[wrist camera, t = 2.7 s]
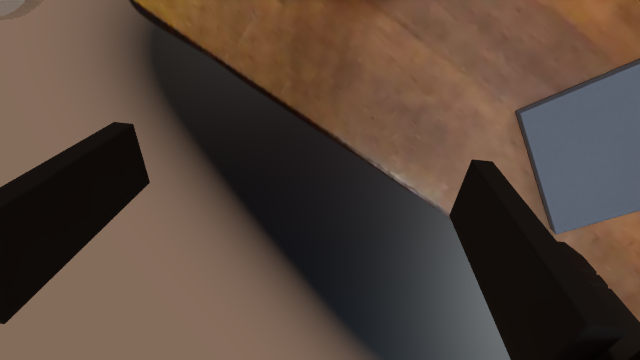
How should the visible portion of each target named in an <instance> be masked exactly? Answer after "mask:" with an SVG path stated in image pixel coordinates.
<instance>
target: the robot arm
mask: <svg viewBox="0 0 640 360" xmlns="http://www.w3.org/2000/svg"><path fill="white" fill-rule="evenodd" d="M149 182H150V181H149V178H148V174H147V171H146V168H145V164H144V160H143V157H142V153H141V150H140V147H139V143H138V139H137V136H136V132H135V129H134V125H133V124H127V123H118V122H113V123H112V124H110V125H108V126H106V127H105V128H103V129H101V130H99V131H98V132H96V133H95V134H92V135H91V136H89V137H87V138H86V139H84V140H82V141H80V142H79V143H77V144H75V145H73V146H72V147H70V148H68V149H66V150H65V151H63V152H61V153H60V154H58V155H56V156H54V157H52V158H51V159H49V160H47V161H45V162H44V163H42V164H41V165H38V166H37V167H35V168H33V169H32V170H30V171H28V172H26V173H25V174H23V175H21V176H19V177H18V178H16V179H14V180H12V181H11V182H9V183H7V184H5V185H4V186H2V187H0V323H1V324H5V323H6V322H7V321H8V320H9V319H10V318H11V317H12V316H13V315H14V314H15V313H17V312H18V310H20V309H21V308H22V307H23V306H24V305H25V304H26V303H27V302H28V301H29V300H30V299H31V298H32V297H33V296H34V295H35V294H36V293H37V292H38V291H39V290H40V289H41V288H42V287H43V286H44V285H45V284H46V283H47V282H48V281H49V280H50V279H51V278H52V277H53V276H54V275H55V274H56V273H58V272H59V271H60V270H61V269H62V268H63V267H64V266H65V265H66V264H67V263H68V262H69V261H70V260H71V259H72V258H73V257H74V256H75V255H76V254H77V253H78V252H79V251H80V250H81V249H82V248H83V247H84V246H85V245H86V244H87V243H88V242H89V241H90V240H91V239H92V238H93V237H94V236H95V235H97V233H98V232H100V231H101V230H102V229H103V228H104V227H105V226H106V225H107V224H108V223H109V222H110V221H111V220H112V219H113V218H114V217H115V216H116V215H117V214H118V213H119V212H120V211H121V210H122V209H123V208H124V207H125V206H126V205H127V204H128V203H129V202H130V201H131V200H132V199H133V198H134V197H135V196H136V195H138V194H139V192H141V191H142V190H143V189H144V188H145V187H146V186H147V185H148V184H149ZM449 216H450V218H451V221H452V223H453V225H454V228H455V230H456V232H457V234H458V237H459V239H460V242H461V244H462V247H463V249H464V251H465V254H466V256H467V258H468V261H469V263H470V265H471V268H472V270H473V272H474V274H475V277H476V279H477V281H478V284H479V286H480V289H481V291H482V293H483V295H484V298H485V300H486V302H487V305H488V307H489V310H490V312H491V314H492V316H493V319H494V321H495V324H496V326H497V328H498V331H499V333H500V335H501V338H502V340H503V342H504V345H505V347H506V349H507V352H508V354H509V356H510V359H511V360H640V322H639V321H638V320H637V319H636V317H635V316H634V315H633V314H632V313H631V312H630V311H629V309H628V308H627V307H626V306H625V305H624V304H623V302H622V301H621V300H620V299H619V298H618V297H617V295H616V294H615V293H614V292H613V291H612V290H611V289H608V285H607V284H606V283H605V281H604V280H603V279H602V278H601V277H600V276H599V275H597V274H596V271H595V270H594V269H593V267H592V266H591V265H590V264H589V263H588V262H587V260H586V259H585V258H584V257H583V256H582V255H581V254H579V253H578V252H577V251H575V250H574V249H573V248H571V247H570V246H569V245H567V244H566V243H565V242H557V241H556V240H555V239H554V238H553V236H552V235H551V234H550V233H549V231H548V230H547V229H546V228H545V226H544V225H543V224H542V223H541V221H540V220H539V219H538V218H537V216H536V215H535V214H534V213H533V211H532V210H531V209H530V208H529V206H528V205H527V204H526V203H525V202H524V200H523V199H522V198H521V197H520V195H519V194H518V193H517V192H516V190H515V189H514V188H513V187H512V185H511V184H510V183H509V182H508V180H507V179H506V178H505V177H504V175H503V174H502V173H501V172H500V170H499V169H498V168H497V167H496V165H495V164H494V163H493V162H491V161H482V160H471V163H470V165H469V168H468V170H467V173H466V175H465V178H464V180H463V183H462V185H461V188H460V190H459V193H458V195H457V198H456V200H455V203H454V205H453V208H452V210H451V213H450V215H449Z"/></svg>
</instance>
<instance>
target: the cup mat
mask: <svg viewBox="0 0 640 360" xmlns="http://www.w3.org/2000/svg"><path fill="white" fill-rule="evenodd" d="M516 115H517V118H518V122H519V125H520V128H521V131H522V135H523V138H524V141H525V145H526V148H527V151H528V155H529V158H530V161H531V165H532V168H533V171H534V175H535V178H536V181H537V184H538V188H539V191H540V194H541V198H542V201H543V204H544V208H545V211H546V214H547V218H548V221H549V224H550V227H551V230H552V231H553V232H554V233H555V234H559V233H562V232H566V231H569V230H573V229H576V228H580V227H583V226H587V225H590V224H594V223H597V222H601V221H604V220H608V219H611V218H615V217H618V216H622V215H625V214H629V213H632V212H636V211H639V210H640V59H639V60H636V61H634V62H631V63H629V64H627V65H624V66H622V67H619V68H617V69H615V70H612V71H610V72H608V73H605V74H603V75H600V76H598V77H596V78H593V79H591V80H589V81H586V82H584V83H581V84H579V85H577V86H574V87H572V88H569V89H567V90H565V91H562V92H560V93H558V94H555V95H553V96H550V97H548V98H546V99H543V100H541V101H538V102H536V103H534V104H531V105H529V106H527V107H524V108H522V109H519V110H517V111H516Z"/></svg>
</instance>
